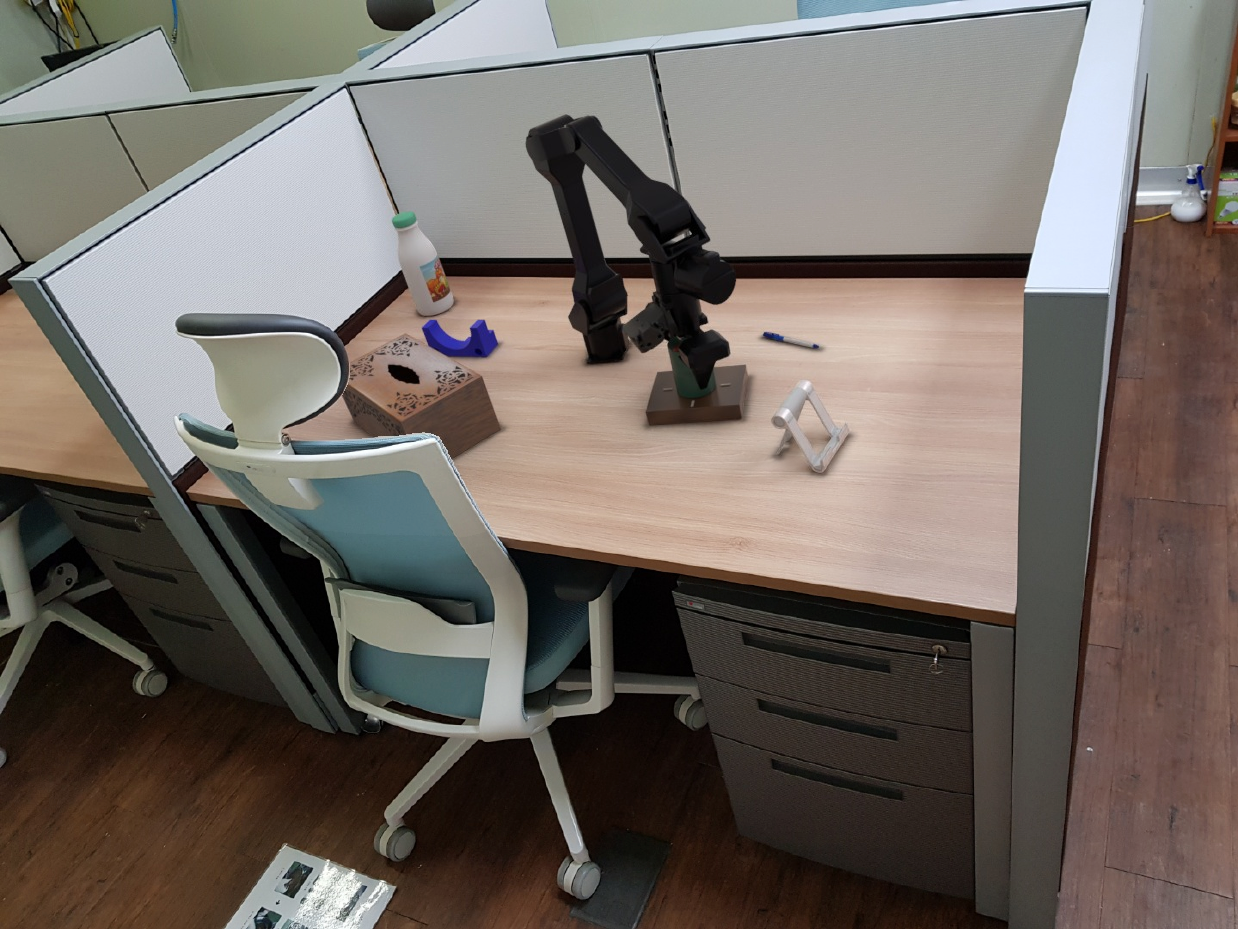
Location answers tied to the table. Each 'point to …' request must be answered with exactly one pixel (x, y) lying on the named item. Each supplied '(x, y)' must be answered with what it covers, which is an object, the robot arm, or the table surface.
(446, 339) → the cable clip
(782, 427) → the tablet stand
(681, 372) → the rotary knob
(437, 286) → the milk bottle
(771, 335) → the ballpoint pen
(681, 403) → the dial knob base plate
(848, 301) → the table surface
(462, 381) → the tissue box cover
